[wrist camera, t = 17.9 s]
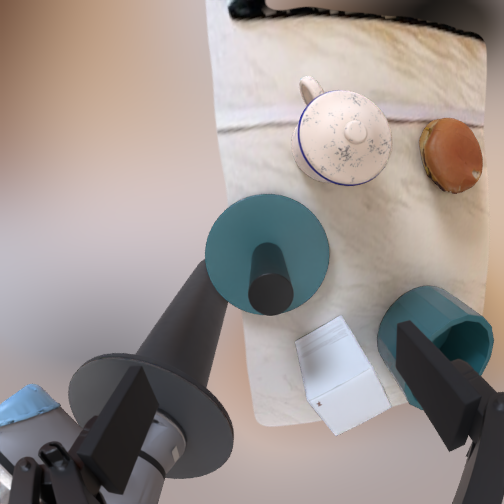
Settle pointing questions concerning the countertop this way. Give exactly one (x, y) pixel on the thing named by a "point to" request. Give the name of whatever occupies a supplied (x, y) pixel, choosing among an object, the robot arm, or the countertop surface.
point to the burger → (451, 155)
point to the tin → (436, 330)
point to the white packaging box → (339, 377)
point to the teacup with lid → (340, 136)
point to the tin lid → (267, 254)
